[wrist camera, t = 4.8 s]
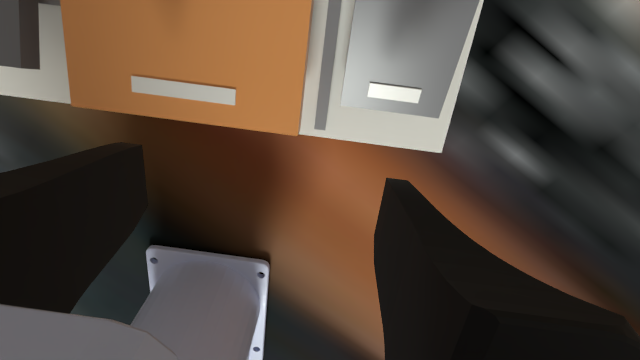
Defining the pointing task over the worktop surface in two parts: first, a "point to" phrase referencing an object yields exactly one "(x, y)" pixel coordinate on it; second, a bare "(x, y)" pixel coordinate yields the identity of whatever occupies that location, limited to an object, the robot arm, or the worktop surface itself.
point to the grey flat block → (405, 54)
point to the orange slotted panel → (191, 59)
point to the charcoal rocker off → (19, 34)
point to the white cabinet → (320, 85)
